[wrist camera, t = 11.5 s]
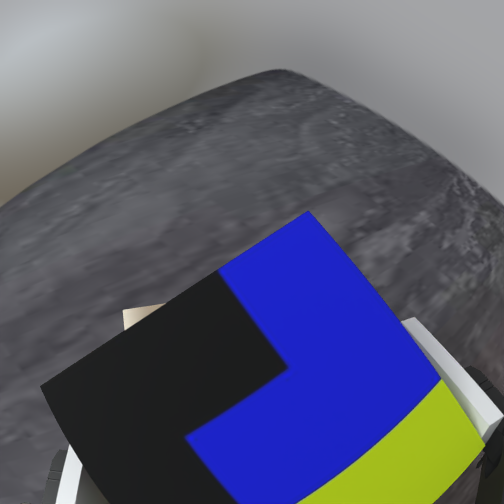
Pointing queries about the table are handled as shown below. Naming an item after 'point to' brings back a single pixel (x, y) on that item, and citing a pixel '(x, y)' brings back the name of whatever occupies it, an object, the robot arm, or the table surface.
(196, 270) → the table surface
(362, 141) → the table surface
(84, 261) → the table surface
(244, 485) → the puzzle toy
